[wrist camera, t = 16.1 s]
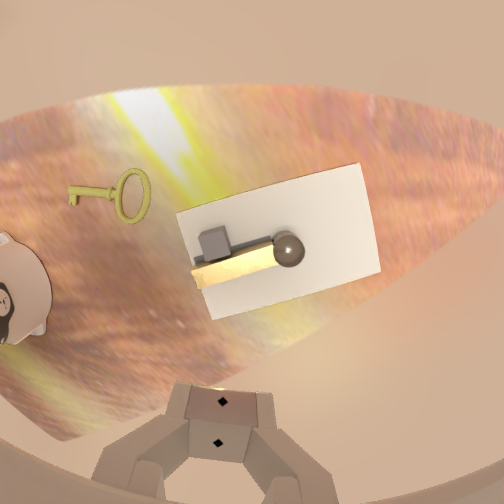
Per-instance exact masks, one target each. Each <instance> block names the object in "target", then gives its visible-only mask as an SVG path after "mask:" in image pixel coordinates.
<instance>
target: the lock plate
mask: <svg viewBox="0 0 504 504" xmlns="http://www.w3.org/2000/svg"><path fill="white" fill-rule="evenodd" d="M175 215H176V218H177V222H178V225H179V228H180V231H181V234H182V237H183V240H184V243H185V246H186V248H187V251H188V254H189V257H190V260H191V263H192V266H194V264H196V263H200V262H203V261H210V260H213V259H217V258H220V257H224V256H227V255H231V252H234V251H237V250H240V249H243V248H246V247H250V246H253V245H256V244H259V243H262V242H265V241H268V240H271V241H272V238H273V237H274V235H275V234H276V233H278V232H280V231H284V230H287V231H291V232H293V233H294V234H296V235H297V237H298V238H299V239H300V240H301V242H302V243H303V245H304V247H305V256H304V258H303V260H302V261H301V263H300V264H298V265H297V266H294V267H290V268H287V267H283V266H281V265H279V264H278V265H275V266H272V267H269V268H265V269H262V270H259V271H256V272H253V273H250V274H246V275H243V276H240V277H237V278H233V279H230V280H227V281H224V282H220V283H217V284H214V285H211V286H207V287H204V288H201V291H202V294H203V296H204V299H205V302H206V305H207V307H208V310H209V313H210V315H211V318H212V320H216V319H220V318H224V317H228V316H232V315H235V314H239V313H243V312H247V311H251V310H254V309H258V308H262V307H265V306H269V305H273V304H276V303H280V302H283V301H287V300H290V299H294V298H297V297H301V296H304V295H308V294H311V293H314V292H318V291H321V290H324V289H328V288H331V287H334V286H338V285H341V284H344V283H347V282H350V281H353V280H357V279H360V278H363V277H366V276H369V275H372V274H375V273H378V272H381V270H380V263H379V257H378V250H377V244H376V238H375V233H374V227H373V222H372V216H371V211H370V206H369V202H368V197H367V192H366V188H365V183H364V179H363V175H362V170H361V166H360V163H355V164H350V165H346V166H342V167H338V168H334V169H330V170H325V171H321V172H317V173H313V174H310V175H306V176H302V177H298V178H294V179H290V180H287V181H283V182H279V183H275V184H272V185H268V186H265V187H261V188H257V189H254V190H250V191H247V192H243V193H240V194H237V195H233V196H230V197H226V198H223V199H220V200H217V201H213V202H210V203H207V204H204V205H200V206H197V207H194V208H191V209H188V210H185V211H181V212H178V213H176V214H175Z"/></svg>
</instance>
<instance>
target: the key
mask: <svg viewBox="0 0 504 504" xmlns="http://www.w3.org/2000/svg"><path fill="white" fill-rule="evenodd" d="M131 174H137V175H139V176H140V178H141V180H142V184H143V190H144V196H143V202H142V206H141V209H140V211H139V213H138V214H137V216H136V217H134V218H128V217H126V216H125V215H124V213H123V210H122V206H121V194H122V189H123V185H124V182H125V180H126V179H127V177H128V176H129V175H131ZM68 194H69V205H72V204H73V205H74V206H76V205H77V195H81V196H91V197H101V198H107V200H108V201H111V200H112V199H115V208H116V212H117V214H118V217H119V218H120V219H121V220H122V221H123V222H125V223H128V224H135V223H138V222H139V221H141V220H142V219H143V217H144V216H145V215H146V213H147V211H148V208H149V204H150V199H151V186H150V182H149V179H148V177H147V175H146V174H145V173H144V172H143V171H142V170H140V169H136V168H135V169H129V170H127V171H126V172H125V173H123V175H122V176H121V178H120V179H119V181H118V184H117V188H116V190H113V187H109V188H108V189H101V188H90V187H79V186H69V188H68Z"/></svg>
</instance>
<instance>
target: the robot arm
mask: <svg viewBox="0 0 504 504" xmlns="http://www.w3.org/2000/svg"><path fill="white" fill-rule="evenodd" d="M0 242H1V243H0V347H1V346H2V345H3V344H4V343H7V344H9V345H10V344H13V345H16V344H18V343H19V342H20V341H22V340H23V339H24V338H26V337H27V336H28V335H39V336H40V335H43V334H44V333H45V332H46V318H47V316H48V313H49V311H50V308H51V302H52V294H51V287H50V282H49V279H48V276H47V273H46V271H45V269H44V267H43V265H42V263H41V262H40V260H39V259H38V257H37V256H36V255H35V254H34V253H33V252H32V251H31V250H30V249H29V248H28V247H26V246H25V245H23V244H20V243H18V242H16V241H15V240H13V238H12V237H11V236H10V235H9V234H8V233H7V232H5V231H3V232H1V233H0ZM188 457H194V458H202V459H211V460H220V461H228V462H237V463H243V465H244V466H245V468H246V469H247V470H248V472H249V473H250V475H251V476H252V477H253V479H254V480H255V482H256V483H257V484H258V486H259V487H260V488H261V490H262V491H263V492H264V494H265V495H266V496H265V498H264V500H263V502H262V504H339V502H338V498H337V495H336V491H335V487H334V483H333V479H332V475H331V474H330V473H329V472H328V471H327V470H326V469H325V468H323V467H322V466H321V465H320V464H319V463H318V462H317V461H315V460H314V459H313V458H312V457H311V456H310V455H309V454H308V453H307V452H305V451H304V450H303V449H302V448H301V447H300V446H299V445H298V444H297V443H296V442H295V441H294V440H293V439H291V438H290V437H289V436H288V435H287V434H286V433H285V432H284V431H283V430H282V429H277V426H276V418H275V410H274V402H273V395H272V393H266V392H249V391H239V390H230V389H222V388H215V387H209V386H203V385H197V384H191V383H185V382H180V381H176V382H175V384H174V387H173V390H172V393H171V397H170V400H169V403H168V407H167V410H166V414H165V415H161V414H160V415H158V416H157V417H155V418H154V419H152V420H150V421H149V422H147V423H146V424H144V425H142V426H141V427H139V428H137V429H136V430H134V431H132V432H131V433H129V434H127V435H126V436H124V437H122V438H120V439H119V440H117V441H115V442H114V443H112V444H110V445H108V446H107V447H105V448H104V449H103V452H102V454H101V456H100V458H99V461H98V463H97V465H96V468H95V471H94V472H93V475H92V477H91V480H90V479H87V478H84V477H82V476H79V475H77V474H74V473H71V472H69V471H66V470H64V469H62V468H59V467H57V466H55V465H52V464H50V463H48V462H46V461H44V460H42V459H39V458H37V457H35V456H33V455H31V454H29V453H27V452H25V451H23V450H21V449H20V448H18V447H16V446H14V445H12V444H10V443H9V442H7V441H5V440H3V439H2V438H0V504H184V503H178V502H173V501H168V500H166V497H165V489H164V480H165V479H166V478H167V477H168V476H169V475H171V474H172V473H173V472H174V471H175V470H176V469H177V468H178V467H179V466H180V465H181V464H182V463H183V462H185V461H186V460H187V459H188ZM362 504H504V459H502V460H500V461H498V462H496V463H493V464H491V465H489V466H487V467H484V468H482V469H480V470H477V471H475V472H473V473H470V474H468V475H465V476H463V477H460V478H457V479H455V480H452V481H449V482H446V483H443V484H440V485H437V486H434V487H431V488H427V489H424V490H420V491H417V492H413V493H409V494H405V495H401V496H397V497H393V498H389V499H384V500H378V501H373V502H368V503H362Z"/></svg>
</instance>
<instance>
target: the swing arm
mask: <svg viewBox="0 0 504 504" xmlns="http://www.w3.org/2000/svg"><path fill="white" fill-rule="evenodd" d="M304 256H305V247H304V245H303V243H302V242H301V240H300V239H299V238H298V237H297V235H296V234H294V233H293V232H291V231H287V230H284V231H280V232H278V233H276V234H275V235H274V237H273V238H272V241H271V240H268V241H265V242H262V243H259V244H256V245H253V246H250V247H246V248H243V249H240V250H237V251H234V252H231V255H227V256H224V257H220V258H217V259H213V260H210V261H203V262H200V263H196V264H194V266H193V268H192V270H191V272H192V275H193V278H194V280H195V283H196V285H197V288H198V289H201V288H204V287H207V286H211V285H214V284H217V283H220V282H224V281H227V280H230V279H233V278H237V277H240V276H243V275H246V274H250V273H253V272H256V271H259V270H262V269H265V268H269V267H272V266H275V265H278V264H279V265H281V266H283V267H287V268H290V267H294V266H297V265H298V264H300V263H301V261H302V260H303V258H304Z"/></svg>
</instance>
